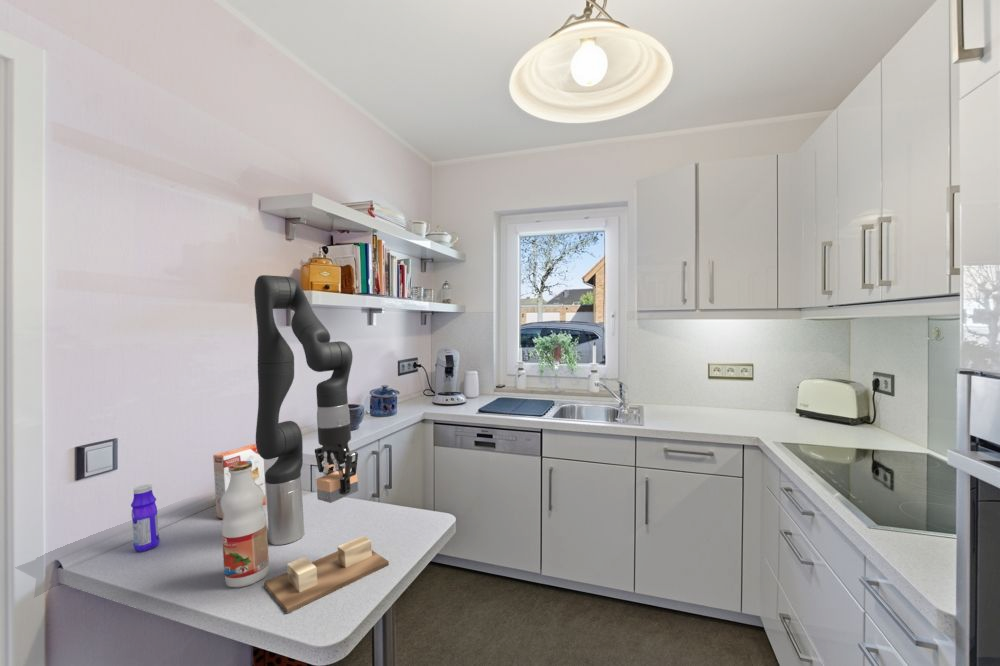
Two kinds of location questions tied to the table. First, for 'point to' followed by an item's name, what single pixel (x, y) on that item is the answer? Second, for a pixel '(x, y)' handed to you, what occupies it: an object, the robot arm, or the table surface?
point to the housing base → (336, 493)
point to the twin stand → (324, 574)
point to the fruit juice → (244, 528)
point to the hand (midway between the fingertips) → (338, 491)
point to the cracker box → (224, 476)
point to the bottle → (144, 519)
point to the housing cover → (332, 481)
